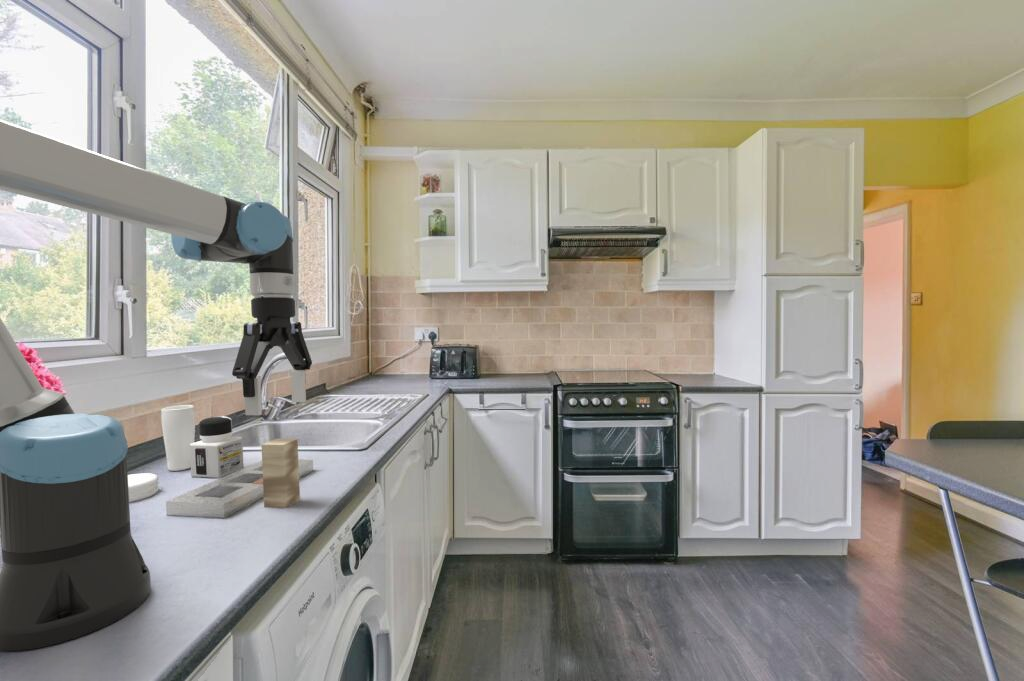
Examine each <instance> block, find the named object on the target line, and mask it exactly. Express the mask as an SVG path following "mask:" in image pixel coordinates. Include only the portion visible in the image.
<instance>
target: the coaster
mask: <svg viewBox="0 0 1024 681" xmlns="http://www.w3.org/2000/svg"><path fill="white" fill-rule="evenodd" d="M158 480H159V476H158V475H157V474H155V473H150V472H148V473H147V472H146V473H145V472H144V473H143V472H142V473H132V474H128V491H129V503H133V502H137V501H142V500H144V499H147V498H149V497H152V496H154V495H155V494H157V493H158V492H159V489H160V488H159V481H158Z"/></svg>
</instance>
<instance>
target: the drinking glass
mask: <svg viewBox="0 0 1024 681" xmlns="http://www.w3.org/2000/svg"><path fill="white" fill-rule="evenodd" d="M160 411H161V412H160V417H161V418H160V422H161V429H162V436H163V443H164V450H165V456H166V462H167V466H166V467H167V470H169V471H170V472H179V471H185V470H188V469H191V460H190V444H191V443H195V434H196V412H195V405H193V404H180V405H171V406H167V407H163V408H161V410H160Z"/></svg>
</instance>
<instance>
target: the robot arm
mask: <svg viewBox="0 0 1024 681" xmlns="http://www.w3.org/2000/svg"><path fill="white" fill-rule="evenodd" d="M0 190H1V191H4V192H7V193H10V194H16V195H19V196H24V197H27V198H31V199H34V200H39V201H41V202H42V201H43V202H47V203H51V204H54V205H58V206H62V207H66V208H69V209H74V210H77V211H81V212H85V213H88V214H92V215H95V216H100V217H105V218H107V219H112V220H115V221H120V222H123V223H126V224H131V225H135V226H139V227H143V228H147V229H150V230H155V231H157V232H161V233H162V232H163V233H166V234H170V235H171V245H172V248H173V250H174V252H175V254H176V255H177V256H178V257H179V258H182V259H185V260H191V261H192V260H193V261H197V262H203V261H204V262H215V263H216V262H220V263H237V264H243V265H244V264H245V265H246V264H247V265H248V267H249V288H250V289H249V293H250V295H251V296H253V298H252V299H251V300H250V305H251V306H250V309H251V317H252V318H254V319H256V322H244V324H243V331H242V332H243V334H242V335H243V336H242V338H241V342H240V345H239V349H238V351H237V352H238V353H237V355H236V358H235V361H234V365H233V368H232V371H231V372H232V373H231V374H232V376H233V377H235V378H236V379H237V380H242V395H243V398H244V411H245V412H244V414H245V416H262V415H263V413H262V412H263V410H262V408H263V406H262V389H261V388H262V387H261V378H258V374H259V372H260V370H261V369H262V366H263V364H264V362H265V361H266V359H267V356H268V354H269V352H270V351H271V350H272V349H273V348H275V347H279V348H280V350H282V352H283V354H284V356H285V357H286V359H287V361H288V362H289V363H290V365H291V367H292V370H290V383H291V384H290V386H291V387H290V388H291V389H290V390H291V403H306V402H307V392H306V390H307V389H306V388H307V387H306V370H310V369H311V366H312V364H313V360H312V358H311V355H310V353H309V352H310V351H309V349H308V347H307V346H308V345H307V343H306V340H305V337H304V334H303V329H302V323H301V321H291V318H294V317H295V316H296V300H295V298H293V297H292V296H294V295H295V280H294V251H293V250H294V249H293V245H294V244H293V243H294V238H293V229H292V228H293V227H292V222H291V220H290V218H289V217H287V216H286V215H284V214H283V213H282V212H281V211H280V210H279V209H278V208H277V207H276V206H274V205H272V204H270V203H268V202H264V201H250V202H247V203H245V202H242V201H238V200H236V199H233V198H230V197H227V196H223V195H219V194H217V193H214V192H210V191H208V190H204V189H202V188H200V187H196V186H194V185H190V184H187V183H184V182H181V181H179V180H176V179H174V178H169V176H168V177H167V176H165V175H161V174H159V173H156V172H152V171H151V170H147V169H145V168H141V167H138V166H135V165H132V164H130V163H127V162H125V161H124V162H123V161H121V160H118V159H115V158H112V157H109V156H106V155H104V154H100V153H97V152H95V151H92V150H89V149H87V148H83V147H80V146H77V145H74V144H72V143H69V142H66V141H63V140H60V139H57V138H54V137H52V136H48V135H45V134H43V133H40V132H37V131H34V130H31V129H28V128H27V127H26V128H25V127H23V126H20V125H17V124H13V123H11V122H8V121H5V120H2V119H0ZM125 434H126V433H125V428H124V426H123V424H122V423H121V422H120V421H119V420H118V419H116V418H114V417H112V416H107V415H103V414H90V413H75V412H74V410H73V409H72V407H71V405H70V403H69V402H68V400H67V399H66V397H65V395H64V394H63V392H60V391H56V390H52V389H49V388H46V387H44V386H42V384H41V382H40V381H39V379H38V378H37V375H36V374H35V373H34V371H33V369H32V368H31V366H30V365H29V363H28V361H27V359H26V358H25V356H24V354H23V353H22V351H21V349H20V348H19V346H18V345H17V343H16V341H15V340H14V338H13V337H12V335H11V333H10V332H9V330H8V328H7V327H6V324H4V321H3V320H2V318H1V317H0V546H1V559H2V562H1V563H2V566H1V570H0V651H8V652H9V651H10V652H11V651H12V652H13V651H15V652H16V651H24V650H25V651H26V650H33V649H39V648H46V647H47V646H53V645H57V644H61V643H64V642H67V641H70V640H74V639H76V638H80V637H82V636H85V635H88V634H90V633H92V632H95V631H97V630H99V629H102V628H104V627H107V626H109V625H110V624H112V623H114V622H116V621H119V620H120V619H121V618H124V617H125V616H127V615H128V614H130V613H132V612H133V611H134V610H135V609H137V608H138V607H139V606H141V605H142V604H143V603H144V602H145V601H146V600H147V598H148V597H149V596H150V594H151V590H152V586H151V582H152V581H151V572H150V570H149V568H148V567H149V566H148V565H146V563H145V561H144V558H143V556H142V553H141V552H140V550H139V548H138V546H137V544H136V542H135V540H134V538H133V536H132V532H131V514H130V512H131V510H130V502H129V491H128V475H129V474H128V473H129V472H128V457H127V453H128V450H129V445H128V441H127V438H126V435H125Z"/></svg>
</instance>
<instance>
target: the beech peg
mask: <svg viewBox="0 0 1024 681" xmlns="http://www.w3.org/2000/svg"><path fill="white" fill-rule="evenodd" d="M298 442H299V441H298V438H275V439H272V440H269V441H266V442H264V443H262V444H261V461H262V467H263V489H264V497H263V506H264V508H272V509H273V508H274V509H275V508H278V509H287V508H289V507H290V506H292V505H293V504H295V503H296V502H299V501H300V500H301V492H300V491H301V490H300V478H299V463H298V459H299V443H298Z"/></svg>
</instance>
